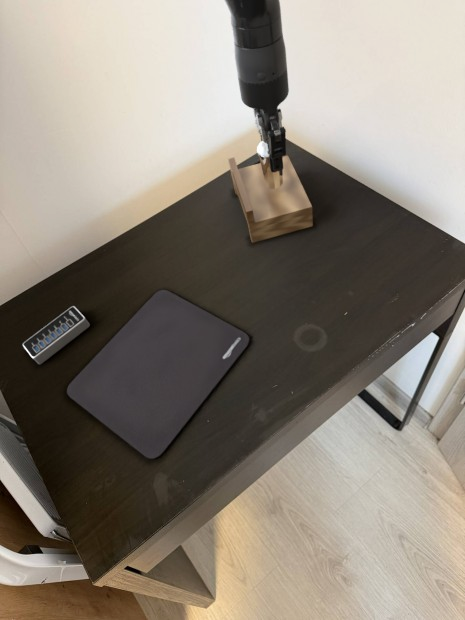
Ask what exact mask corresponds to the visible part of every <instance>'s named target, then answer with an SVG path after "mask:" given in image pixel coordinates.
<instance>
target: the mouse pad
mask: <svg viewBox="0 0 465 620" xmlns="http://www.w3.org/2000/svg"><path fill="white" fill-rule="evenodd" d="M249 344H250V336H249V335H248V334H247V333H246V332H245V331H244V330H241V329H239V328H237V327H235V326H234V325H232V324H230V323H228V322H226V321H224V320H223V319H221V318H219V317H217V316H215V315H213V314H212V313H210V312H208V311H206V310H204V309H203V308H201V307H199V306H198V305H195V304H194V303H192V302H190V301H189V300H186V299H184V298H182V297H181V296H179V295H177V294H175V293H173V292H171V291H170V290H167V289H160V290H158V291H156V292H155V293H154V294H153V295H152V296H151V297H150V298H149V299H148V300H147V301H146V302H145V303H144V304H143V306H142V307H141V308H139V310H137V312H136V313H135V314H134V315H133V316H132V317H131V318H130V319H129V320H128V321H127V322H126V323H125V324H124V326H123V327H122V328H121V329H120V330H119V331H118V332H117V333H116V334H115V335H114V336H113V337H112V338H111V339H110V341H109V342H107V343H106V345H104V346H103V348H102V349H100V351H99V352H98V353H97V354H96V355H95V356H94V357H93V358H92V360H90V362H89V363H88V364H87V365H86V366H85V367H84V368H83V369H82V370H81V371H80V372H79V373H78V375H76V376H75V377H74V378H73V380H72V381H71V382H70V383H69V384H68V386H67V388H66V394H67V395H68V397H69V398H70V399H71V400H73V401H74V402H75V403H77V404H78V405H79V406H80V407H82V408H83V409H84V410H85V411H87V412H88V413H89V414H90V415H92V416H93V417H94V418H95V419H97V420H98V421H99V422H101V423H102V424H103V425H104V426H105V427H107V428H108V429H109V430H110V431H112V432H113V433H115V434H116V435H117V436H118V437H120V439H122V440H124V441H125V442H126V443H128V445H129V446H130V447H132V448H134V449H135V450H136V451H137V452H139V453H140V454H141V455H142V456H143V457H145V458H147V459H149V460H155V459H157V458H159V457H160V456H162V455H163V454H164V452H165V451H166V450H167V449H168V447H169V446H170V445H171V444H172V443H173V441H174V440H175V438H176V437H177V436H178V435H179V433H180V432H181V431H182V430H183V428H184V427H186V425H187V423H188V422H189V421H190V420H191V418H192V417H193V416H194V414H196V412H197V411H198V409H199V408H200V407H201V406H202V405H203V403H204V402H205V401H206V399H207V398H208V397H209V396H210V395H211V393H212V392H213V391H214V389H215V388H216V387H217V385H218V384H219V383H220V382H221V380H223V378H224V377H225V376H226V374H227V372H228V371H229V370H230V369H231V368H232V367H233V365H234V364H235V363H236V361H237V360H238V359H239V357H240V356H241V355H242V353H243V352H244V351H245V350H246V349H247V347H248V346H249Z"/></svg>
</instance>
